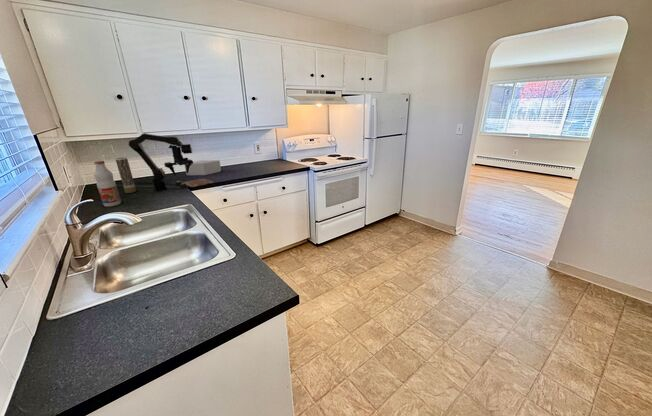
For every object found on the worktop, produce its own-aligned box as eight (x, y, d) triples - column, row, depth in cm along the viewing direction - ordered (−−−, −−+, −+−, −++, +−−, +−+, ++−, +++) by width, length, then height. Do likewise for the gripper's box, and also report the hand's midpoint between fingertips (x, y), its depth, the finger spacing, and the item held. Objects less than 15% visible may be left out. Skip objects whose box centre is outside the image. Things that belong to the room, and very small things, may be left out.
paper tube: (130, 193, 193) (120, 159, 184) (123, 193, 195) (112, 159, 186) (138, 190, 200) (129, 157, 191) (131, 190, 201) (121, 157, 192)
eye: (182, 188, 205) (181, 184, 204) (180, 187, 207) (179, 183, 206) (187, 187, 208) (186, 183, 207) (185, 186, 210) (184, 182, 209)
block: (186, 173, 249) (183, 162, 245) (220, 169, 262) (218, 159, 259) (187, 177, 237) (184, 165, 233) (222, 172, 250) (220, 161, 246)
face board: (191, 187, 207) (191, 186, 207) (182, 183, 219) (182, 182, 218) (214, 182, 219) (213, 181, 219) (204, 178, 231) (204, 177, 230)
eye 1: (177, 186, 211) (176, 182, 210) (175, 185, 213) (174, 181, 212) (182, 185, 213) (182, 181, 212) (181, 184, 216) (180, 180, 215)
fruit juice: (125, 202, 176) (112, 160, 165) (109, 207, 167) (95, 163, 157) (115, 201, 179) (102, 159, 168) (100, 205, 171) (85, 162, 160)
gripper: (167, 157, 187) (172, 178, 193) (194, 153, 200) (198, 173, 206) (162, 155, 194) (166, 176, 200) (188, 151, 207) (192, 171, 213)
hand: (181, 174), depth 204 cm, fingers open, 9 cm apart
